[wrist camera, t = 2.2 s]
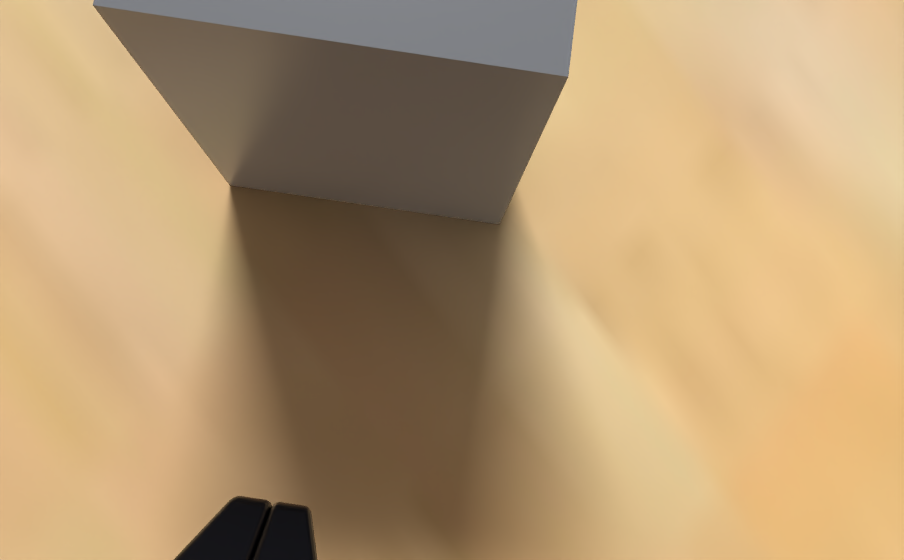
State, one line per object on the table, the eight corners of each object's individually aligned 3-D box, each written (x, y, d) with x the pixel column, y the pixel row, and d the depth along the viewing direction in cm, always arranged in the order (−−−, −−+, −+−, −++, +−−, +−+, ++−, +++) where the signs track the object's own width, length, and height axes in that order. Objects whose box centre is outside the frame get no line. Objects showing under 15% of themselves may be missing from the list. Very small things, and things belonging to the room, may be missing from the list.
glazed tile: (499, 224, 18) (568, 76, 10) (229, 185, 18) (92, 5, 10) (510, 139, 19) (585, -67, 11) (245, 100, 18) (125, -138, 11)
